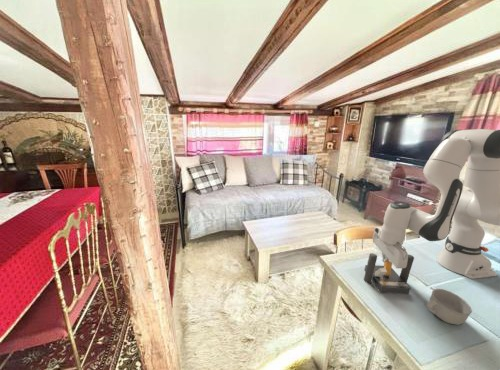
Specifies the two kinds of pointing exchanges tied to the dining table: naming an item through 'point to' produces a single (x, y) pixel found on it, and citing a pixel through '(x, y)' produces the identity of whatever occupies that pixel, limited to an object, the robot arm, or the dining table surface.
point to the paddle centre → (388, 267)
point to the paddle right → (380, 272)
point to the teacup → (449, 306)
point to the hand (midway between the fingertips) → (385, 262)
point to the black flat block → (389, 282)
